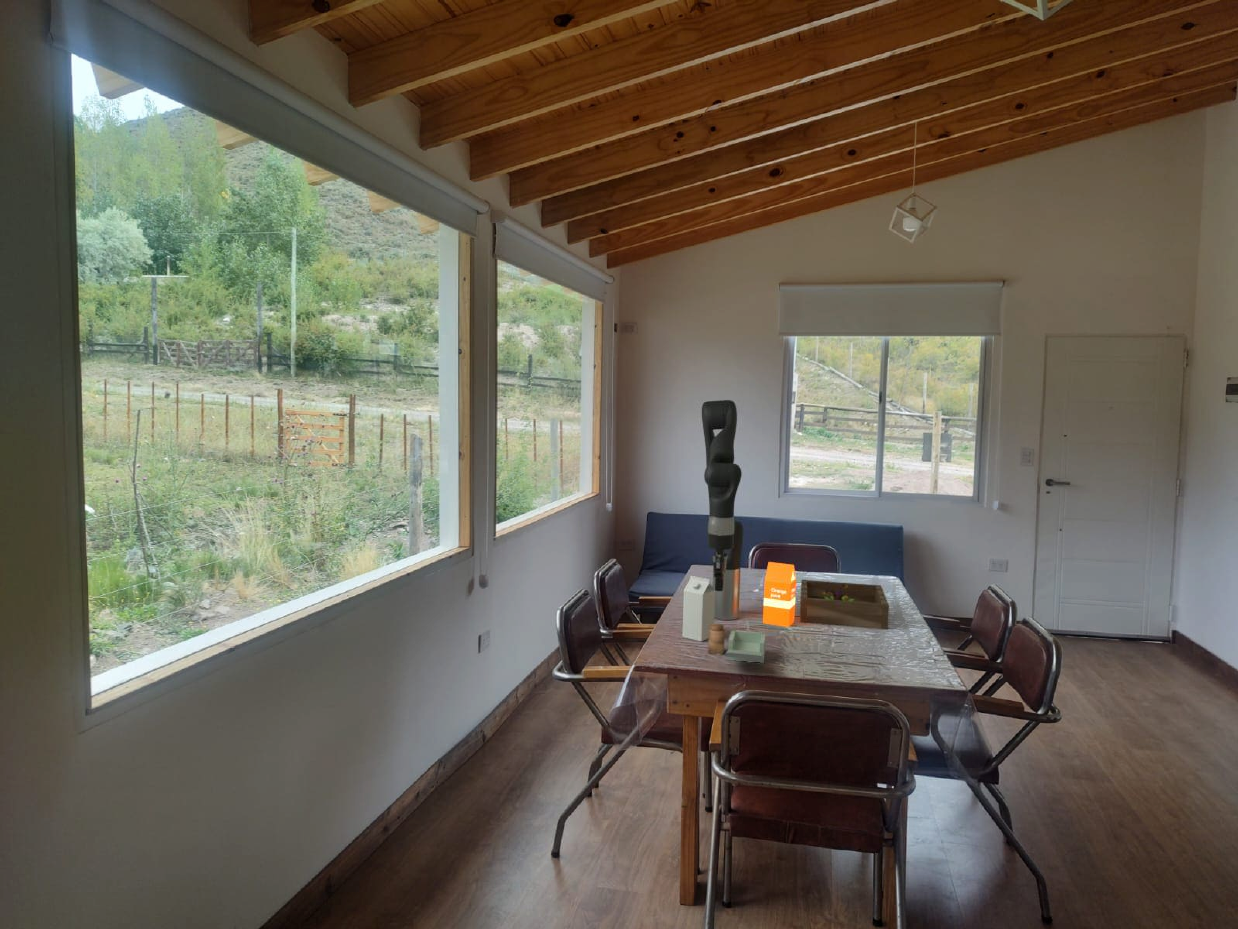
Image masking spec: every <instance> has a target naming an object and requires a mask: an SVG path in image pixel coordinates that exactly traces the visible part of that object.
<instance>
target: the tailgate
mask: <svg viewBox="0 0 1238 929" xmlns="http://www.w3.org/2000/svg"><path fill="white" fill-rule="evenodd" d="M724 655H725V657H726V658H728V657H735V658H745V659H756V660H761V659H762V657H763V653H762V652H751V651H740V650H730V649H729V650H728V649H727V651H726V652H725V654H724Z"/></svg>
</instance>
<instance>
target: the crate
mask: <svg viewBox="0 0 1238 929" xmlns="http://www.w3.org/2000/svg"><path fill="white" fill-rule="evenodd" d="M730 631H731V632H730V634H729V637H728V645H727V646H728V649H727V651H728V650H729V649H730V650H740V651H751V652H762V653H763V657H762V659H761V660H756V659H745V658H735V657H727V661H729V660H736V661H735V662H740V661H753V662H761V663H763V662H764V661H765V656H764V655H766V634H767V633H766V632H759V631H751V630H750V631H749V630H740V629H739V630H738V629H731V630H730ZM763 664H764V663H763Z"/></svg>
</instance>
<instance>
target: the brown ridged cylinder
mask: <svg viewBox="0 0 1238 929" xmlns="http://www.w3.org/2000/svg"><path fill="white" fill-rule="evenodd" d="M725 634H726V629H725V628H724V625H723V624H722V623H714V624H711V628H709V639H708V649H707V650H708V651H707V652H709V653H708V654H710V653H711V654H710V655H712V654H722V655H725V638H726V637H725Z"/></svg>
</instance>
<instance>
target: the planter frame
mask: <svg viewBox="0 0 1238 929" xmlns="http://www.w3.org/2000/svg"><path fill="white" fill-rule="evenodd" d="M842 584H847V585H848V588H844V587H843V586H842V588H841V594H843V593H844V594H847V596H848V599H847V600H850V599H854V600H853V601H847V600H846V599H845V601H842V600H829V599H831V597H830V596H832V597H833V594H832V592H831V591H827V594H826V595H823V592H824V591H826V590H829V589H830V590H833V591H834V592H835V593H836V594H838V589H839V588H840V586H841V585H842ZM825 597H828V598H829V599H826V598H825ZM842 597H844V595H843V596H842ZM799 605H800V608H799V610H800V616H799V623H806V624H807V623H808V624H818V625H829V626H830V625H831V626H841V627H853V628H863V629H875V630H877V629H878V630H886V631H887V630H889V629H888V628H889V615H890V614H889V611H890V605H889V602H888V600H887V597H886V594H885V592H884V588H883V587H882V585H881V584H869V583H868V584H866V583H855V582H854V583H852V582H839V581H826V580H811V579H801V581H800V604H799Z"/></svg>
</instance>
